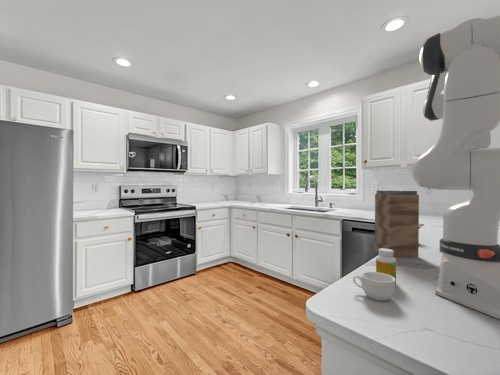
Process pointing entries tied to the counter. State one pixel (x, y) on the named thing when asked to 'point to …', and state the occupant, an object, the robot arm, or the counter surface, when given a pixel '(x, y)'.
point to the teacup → (377, 285)
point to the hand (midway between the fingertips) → (460, 163)
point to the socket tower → (397, 222)
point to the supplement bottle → (386, 262)
